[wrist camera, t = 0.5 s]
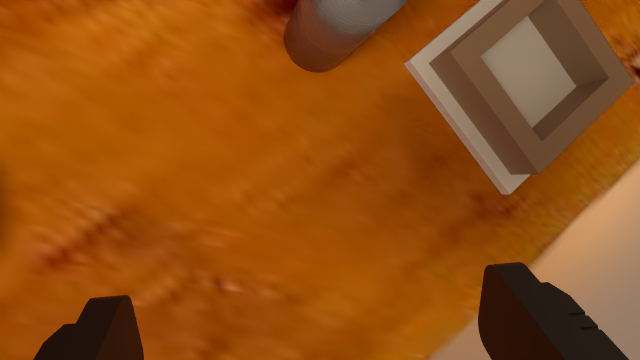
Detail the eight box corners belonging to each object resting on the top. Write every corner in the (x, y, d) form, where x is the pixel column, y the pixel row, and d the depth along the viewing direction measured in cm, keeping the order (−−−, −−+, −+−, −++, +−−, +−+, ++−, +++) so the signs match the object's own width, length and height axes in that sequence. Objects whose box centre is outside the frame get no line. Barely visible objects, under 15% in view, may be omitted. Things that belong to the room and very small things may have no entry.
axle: (270, 32, 32) (303, -46, 21) (320, -6, 32) (376, -100, 22) (312, 85, 32) (365, 36, 21) (360, 46, 33) (434, -20, 22)
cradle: (403, 63, 34) (429, 48, 30) (518, -33, 36) (556, -59, 32) (501, 194, 35) (537, 195, 31) (605, 95, 38) (651, 84, 34)
